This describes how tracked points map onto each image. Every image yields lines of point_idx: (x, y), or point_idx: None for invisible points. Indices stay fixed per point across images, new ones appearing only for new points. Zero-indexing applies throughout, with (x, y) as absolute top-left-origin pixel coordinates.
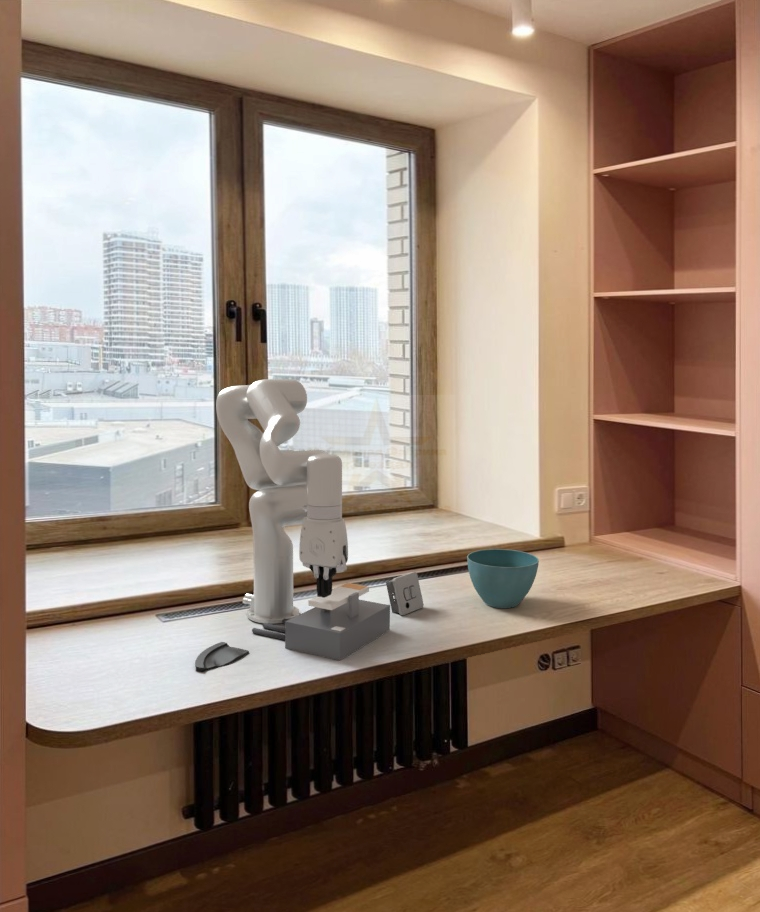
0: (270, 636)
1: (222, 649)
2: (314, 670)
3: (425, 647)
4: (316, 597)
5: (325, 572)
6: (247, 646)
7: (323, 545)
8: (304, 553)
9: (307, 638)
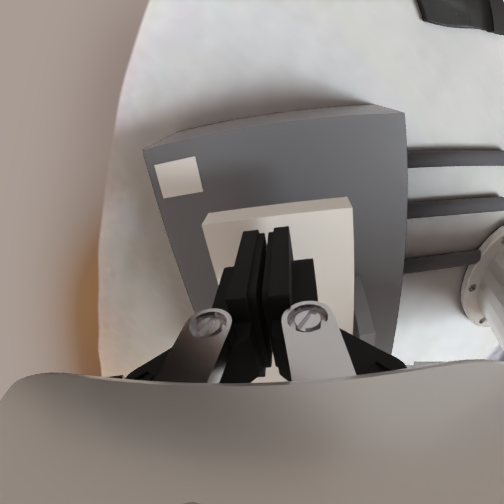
0: (457, 150)
1: (479, 4)
2: (179, 36)
3: (119, 313)
4: (346, 266)
5: (198, 356)
6: (461, 62)
7: None
8: (494, 490)
9: (291, 115)
